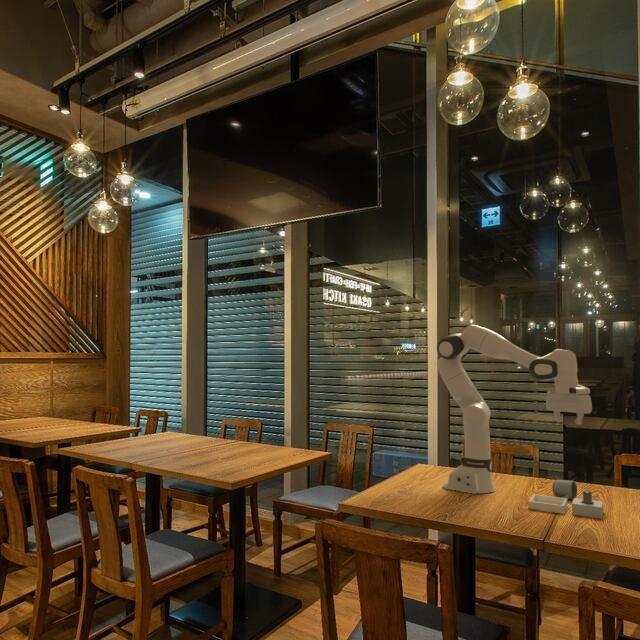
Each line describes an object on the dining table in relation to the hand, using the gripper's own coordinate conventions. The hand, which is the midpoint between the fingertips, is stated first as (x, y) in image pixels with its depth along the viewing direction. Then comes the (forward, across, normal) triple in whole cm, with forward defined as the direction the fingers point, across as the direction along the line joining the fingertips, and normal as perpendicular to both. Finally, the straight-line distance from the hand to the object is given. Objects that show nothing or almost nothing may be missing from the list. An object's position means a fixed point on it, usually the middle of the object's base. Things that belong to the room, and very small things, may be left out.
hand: (568, 423), depth 209 cm
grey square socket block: (+33, +8, -2) cm, 34 cm away
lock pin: (+33, +8, -2) cm, 34 cm away
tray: (+33, -3, -10) cm, 34 cm away
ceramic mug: (+33, -12, +7) cm, 36 cm away
